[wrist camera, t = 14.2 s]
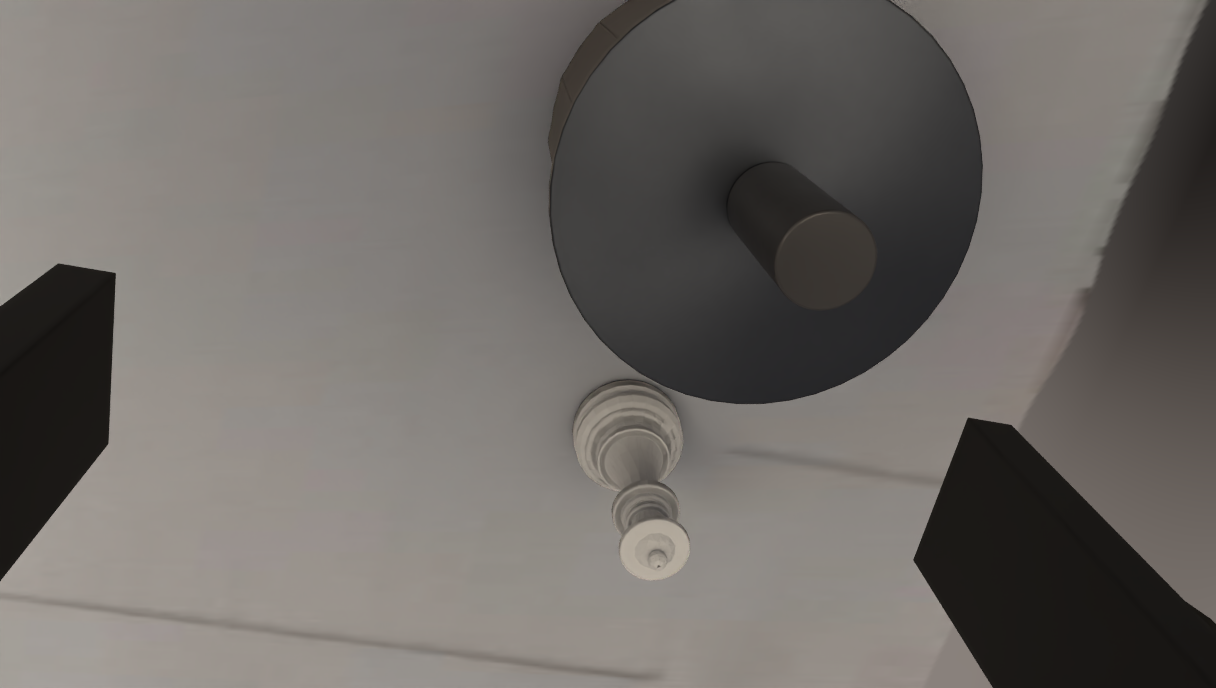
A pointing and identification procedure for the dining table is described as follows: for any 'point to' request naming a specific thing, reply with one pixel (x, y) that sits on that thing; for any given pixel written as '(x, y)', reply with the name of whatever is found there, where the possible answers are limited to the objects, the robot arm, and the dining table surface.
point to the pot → (593, 57)
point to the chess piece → (636, 471)
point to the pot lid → (764, 193)
